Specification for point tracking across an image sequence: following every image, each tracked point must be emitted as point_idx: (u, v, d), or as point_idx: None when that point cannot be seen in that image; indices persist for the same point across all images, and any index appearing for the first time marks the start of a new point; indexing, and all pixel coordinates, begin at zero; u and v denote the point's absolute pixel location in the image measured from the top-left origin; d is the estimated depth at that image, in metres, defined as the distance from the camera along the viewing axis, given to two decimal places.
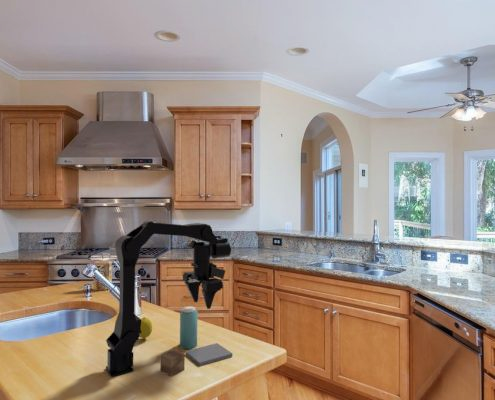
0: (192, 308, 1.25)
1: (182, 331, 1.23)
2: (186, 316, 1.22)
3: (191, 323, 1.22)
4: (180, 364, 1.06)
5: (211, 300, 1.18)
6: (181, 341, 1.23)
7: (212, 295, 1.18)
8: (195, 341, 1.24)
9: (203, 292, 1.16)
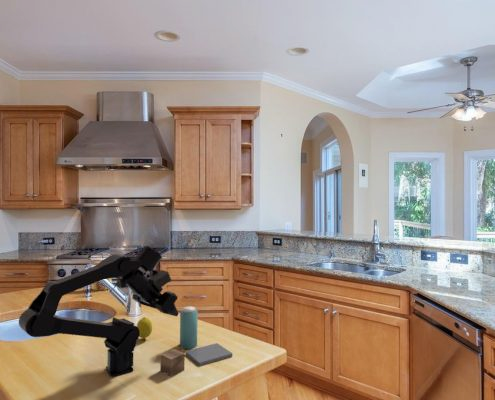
0: (192, 308, 1.25)
1: (182, 331, 1.23)
2: (186, 316, 1.22)
3: (191, 323, 1.22)
4: (180, 364, 1.06)
5: (174, 309, 1.14)
6: (181, 341, 1.23)
7: (172, 306, 1.13)
8: (195, 341, 1.24)
9: (163, 312, 1.10)
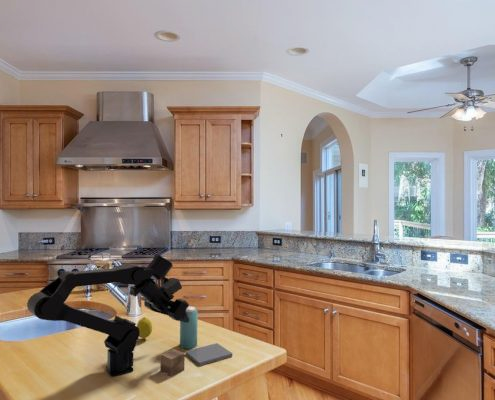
0: (192, 308, 1.25)
1: (182, 331, 1.23)
2: None
3: (191, 323, 1.22)
4: (180, 364, 1.06)
5: (186, 316, 1.17)
6: (181, 341, 1.23)
7: (184, 313, 1.16)
8: (195, 341, 1.24)
9: None
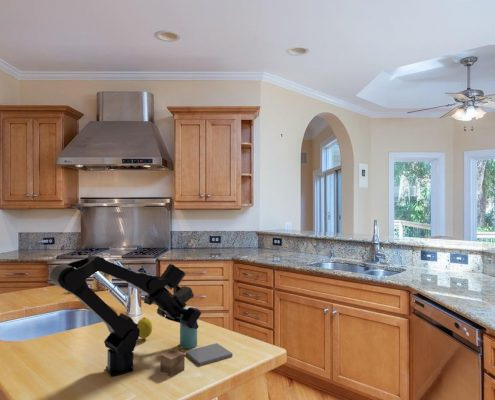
0: None
1: (182, 331, 1.23)
2: None
3: None
4: (180, 364, 1.06)
5: (195, 322, 1.22)
6: (181, 341, 1.23)
7: None
8: (195, 341, 1.24)
9: None
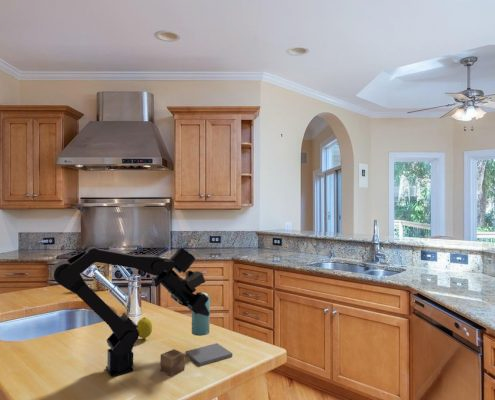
0: None
1: (193, 316, 1.19)
2: None
3: None
4: (180, 364, 1.06)
5: (205, 309, 1.18)
6: (192, 327, 1.20)
7: (203, 306, 1.17)
8: (206, 328, 1.19)
9: None
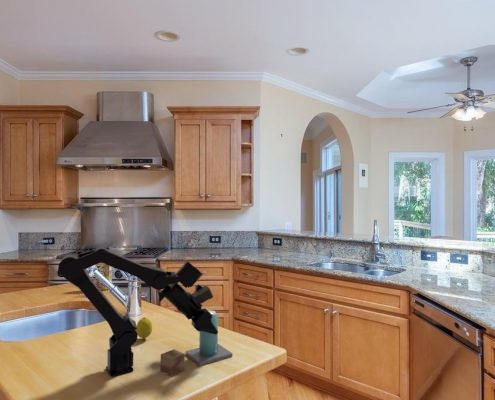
0: (212, 313, 1.17)
1: (200, 335, 1.16)
2: None
3: None
4: (180, 364, 1.06)
5: (213, 327, 1.12)
6: (199, 346, 1.16)
7: (210, 324, 1.11)
8: (213, 349, 1.15)
9: None
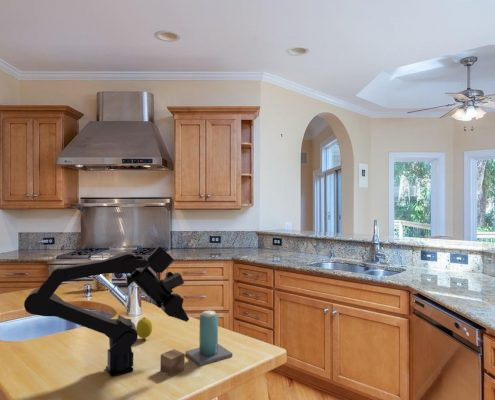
0: (212, 313, 1.16)
1: (200, 336, 1.16)
2: (203, 321, 1.15)
3: (208, 329, 1.14)
4: (180, 364, 1.06)
5: (183, 313, 1.09)
6: (199, 346, 1.16)
7: (181, 309, 1.08)
8: (213, 349, 1.15)
9: None
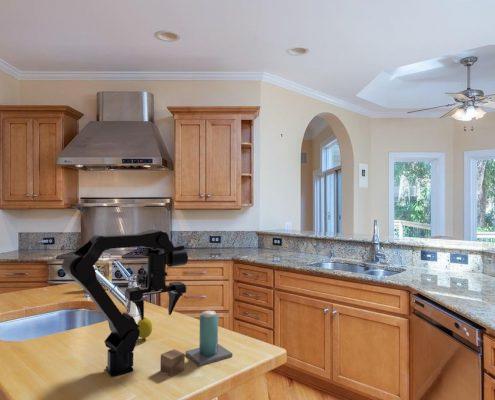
0: (212, 313, 1.16)
1: (200, 336, 1.16)
2: (203, 321, 1.15)
3: (208, 329, 1.14)
4: (180, 364, 1.06)
5: None
6: (199, 346, 1.16)
7: None
8: (213, 349, 1.15)
9: (177, 297, 1.16)
